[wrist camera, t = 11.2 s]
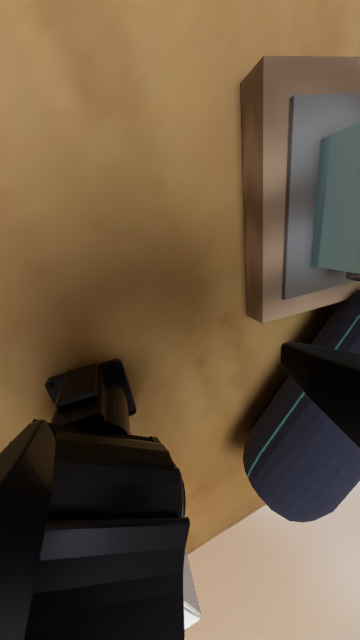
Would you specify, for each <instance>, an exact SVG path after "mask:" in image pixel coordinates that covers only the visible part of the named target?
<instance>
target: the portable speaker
mask: <svg viewBox="0 0 360 640" xmlns="http://www.w3.org/2000/svg"><path fill="white" fill-rule="evenodd" d="M311 345H315V346H320V347H325V348H331V349H336V350H341V351H346V352H351V353H356V354H360V291H358V292H356V293H355V294H353V295H352V296H351V297H350V298H349V299H348V300H345V301H344V302H343V303H342V304H341V305H340V306H339V307H338V308H337V309H336V310H335V311H334V312H333V313H332V315H331V316H330V318H329V319H328V321H327V322H326V323H325V325H324V326H323V328H322V329H321V331H320V332H319V333H318V335H317V336H316V338H315V339H314V341H313V342H312V344H311ZM243 463H244V468H245V472H246V474H247V477H248V479H249V481H250V483H251V485H252V487H253V488H254V490H255V491H256V492H257V494H258V495H259V497H260V498H261V499H262V500H263V501H264V502H265V503H266V504H267V505H268V506H269V508H270V509H271V510H273V511H274V512H276V513H278V514H279V515H281V516H283V517H284V518H286V519H287V520H289V521H296V522H308V521H313V520H316V519H319V518H321V517H323V516H325V515H327V514H328V513H331V512H333V511H334V510H335V509H336V507H337V506H338V505H339V504H340V503H341V502H342V501H343V499H344V498H345V497H346V496H347V495H348V494H349V492H350V491H351V490H352V489H353V488H354V487H355V486H356V484H357V483H358V482H359V481H360V449H359V448H358V447H357V446H356V445H355V444H354V443H353V442H352V441H351V440H350V438H349V437H348V436H347V435H346V434H345V433H344V432H343V431H342V430H341V429H340V428H339V427H338V426H337V425H336V424H335V423H334V422H333V421H332V420H331V419H330V418H329V417H328V416H327V415H326V414H325V413H324V412H323V411H322V410H321V409H320V408H319V407H318V406H317V405H316V404H315V403H314V402H313V401H312V400H311V399H310V398H309V397H308V396H307V395H306V394H305V393H304V392H303V390H302V389H301V388H300V387H299V386H298V384H297V383H296V382H295V381H294V379H293V378H292V377H291V376H290V375H289V377H288V378H287V379H286V381H285V382H284V384H283V385H282V387H281V388H280V390H279V391H278V392H277V394H276V395H275V397H274V398H273V400H272V401H271V402H270V404H269V405H268V407H267V408H266V410H265V411H264V412H263V414H262V415H261V417H260V418H259V420H258V421H257V423H256V424H255V425H254V427H253V428H252V430H251V432H250V435H249V437H248V439H247V441H246V444H245V447H244V454H243Z"/></svg>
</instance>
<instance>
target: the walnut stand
mask: <svg viewBox="0 0 360 640" xmlns="http://www.w3.org/2000/svg"><path fill="white" fill-rule="evenodd" d="M240 85H241V120H242V156H243V192H244V228H245V264H246V299H247V315H248V316H250V317H251V318H253V319H255V320H257V321H258V322H260V323H262V324H264V323H268V322H271V321H275V320H278V319H282V318H285V317H289V316H292V315H296V314H299V313H303V312H306V311H309V310H313V309H316V308H320V307H323V306H327V305H330V304H334V303H337V302H341V301H344V300H348V299H349V298H350V297H351V296H352V295H353V294H355V293H356V292H358V291H360V281H352V280H348V279H346V272H345V271H338V270H331V269H325V268H318V267H311V266H310V262H311V250H312V239H313V227H314V215H315V203H316V192H317V180H318V168H319V156H320V145H321V139H323V138H325V137H327V136H330V135H332V134H334V133H336V132H338V131H340V130H343V129H345V128H347V127H349V126H351V125H353V124H356V123H358V122H360V57H310V56H263V57H262V58H261V60H260V61H259V62H258V63H257V64H256V65H255V67H254V68H253V69H252V70H251V71H250V73H249V74H248V75H247V76H246V77H245V78H244V80H243V81H242V82H241V83H240Z"/></svg>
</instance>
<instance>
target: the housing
mask: <svg viewBox="0 0 360 640" xmlns="http://www.w3.org/2000/svg"><path fill="white" fill-rule="evenodd" d="M310 266H311V267H318V268H325V269H331V270H338V271H345V272H346V279H348V280H352V281H360V122H358V123H356V124H353V125H351V126H349V127H347V128H345V129H343V130H340V131H338V132H336V133H334V134H332V135H330V136H327V137H325V138H323V139H321V145H320V156H319V168H318V180H317V192H316V203H315V215H314V227H313V239H312V250H311V262H310Z"/></svg>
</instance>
